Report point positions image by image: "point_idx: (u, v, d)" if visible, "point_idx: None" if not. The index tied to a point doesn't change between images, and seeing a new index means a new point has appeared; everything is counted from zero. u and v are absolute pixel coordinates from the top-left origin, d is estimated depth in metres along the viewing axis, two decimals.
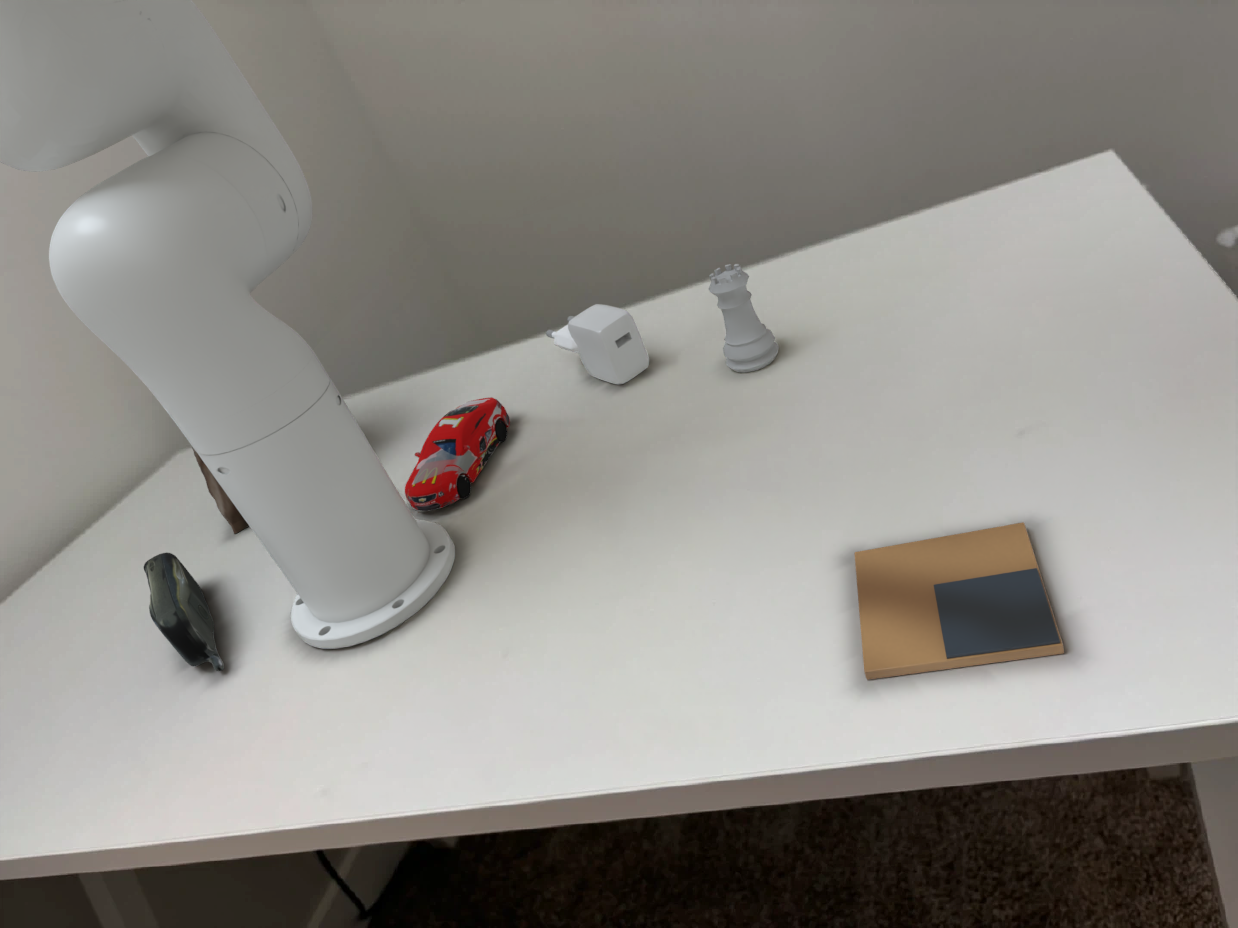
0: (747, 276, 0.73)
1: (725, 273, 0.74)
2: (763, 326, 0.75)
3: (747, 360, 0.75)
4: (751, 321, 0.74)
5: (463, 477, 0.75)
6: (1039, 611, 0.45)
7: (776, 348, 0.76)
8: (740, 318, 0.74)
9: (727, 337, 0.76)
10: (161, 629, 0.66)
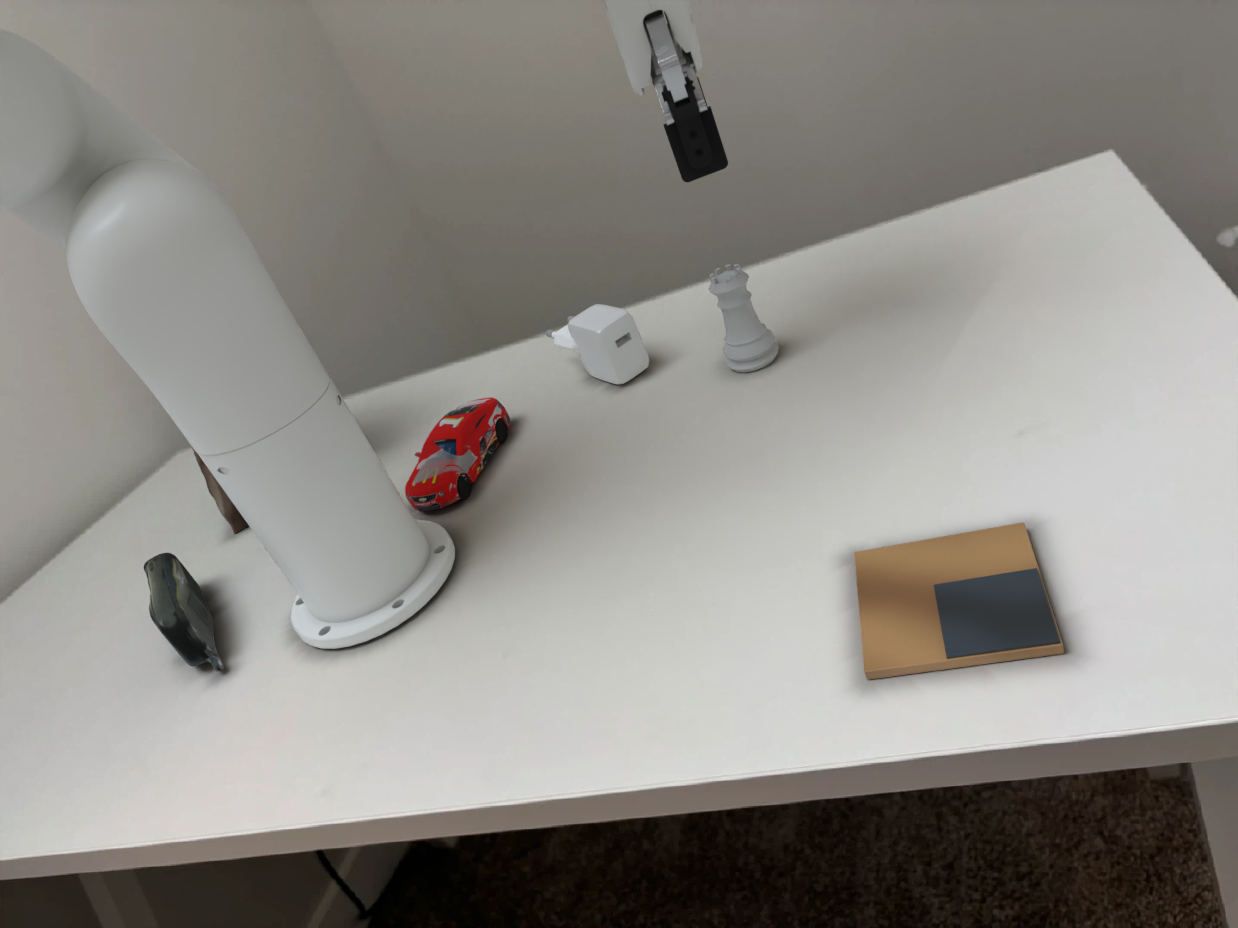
0: (747, 276, 0.73)
1: (725, 273, 0.74)
2: (763, 326, 0.75)
3: (747, 360, 0.75)
4: (751, 321, 0.74)
5: (464, 477, 0.75)
6: (1039, 611, 0.45)
7: (776, 348, 0.76)
8: (740, 318, 0.74)
9: (727, 337, 0.76)
10: (161, 629, 0.66)
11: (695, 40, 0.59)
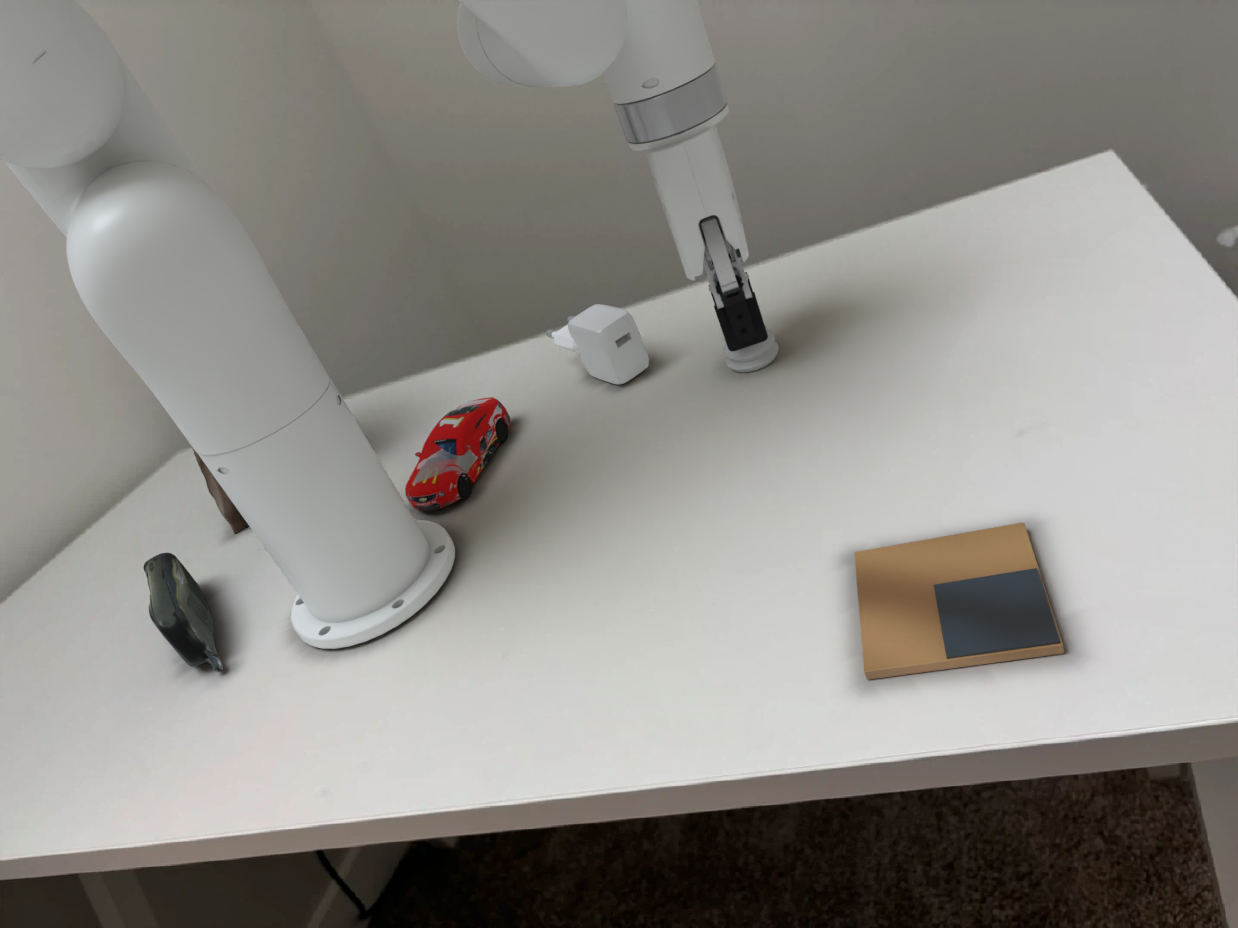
0: (747, 276, 0.73)
1: None
2: None
3: (748, 359, 0.75)
4: None
5: (464, 477, 0.75)
6: (1039, 611, 0.45)
7: (776, 348, 0.76)
8: None
9: None
10: (160, 629, 0.66)
11: (743, 238, 0.67)
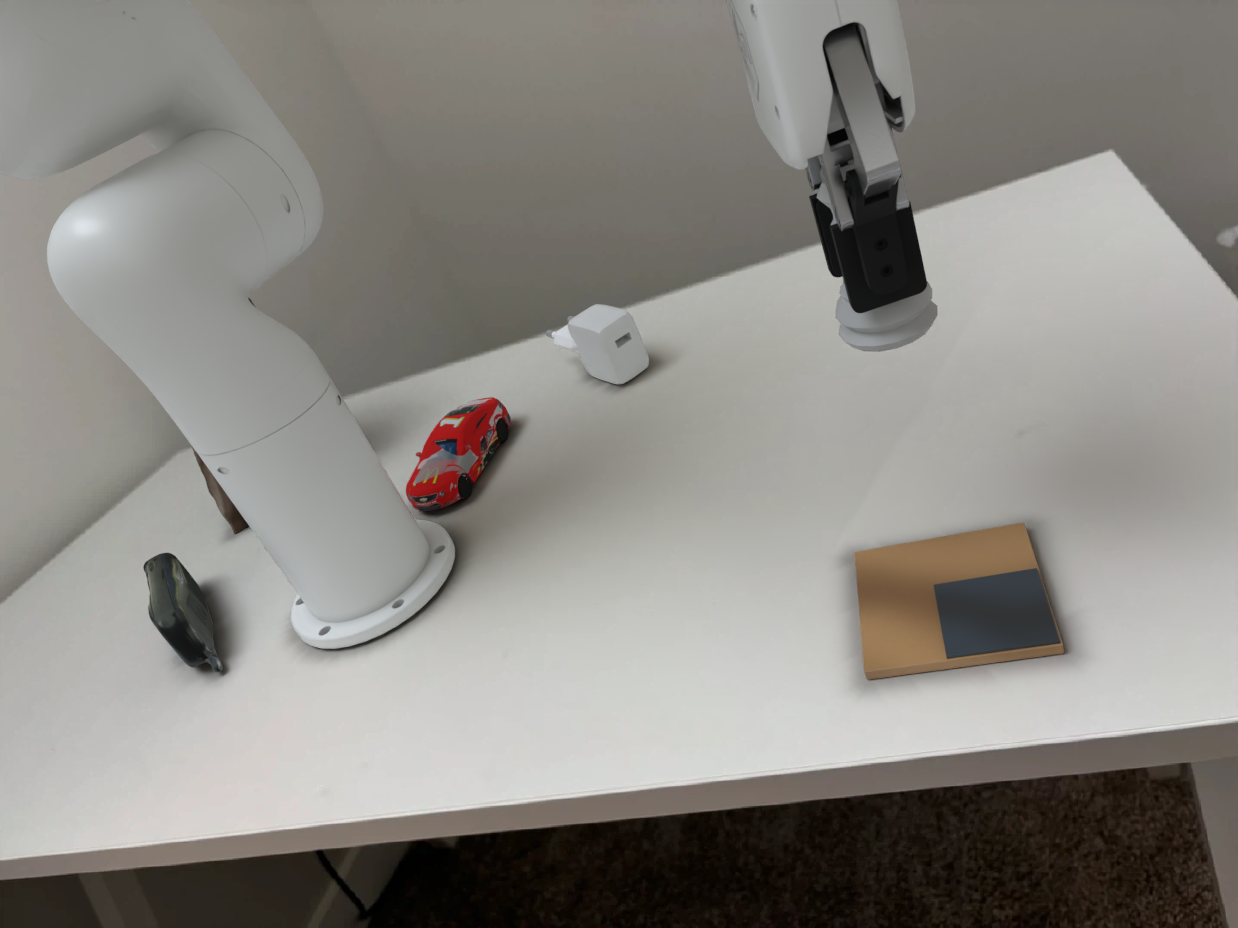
0: None
1: (849, 167, 0.40)
2: None
3: (886, 328, 0.41)
4: None
5: (464, 477, 0.75)
6: (1039, 611, 0.45)
7: (934, 308, 0.42)
8: None
9: None
10: (160, 630, 0.66)
11: (909, 77, 0.33)
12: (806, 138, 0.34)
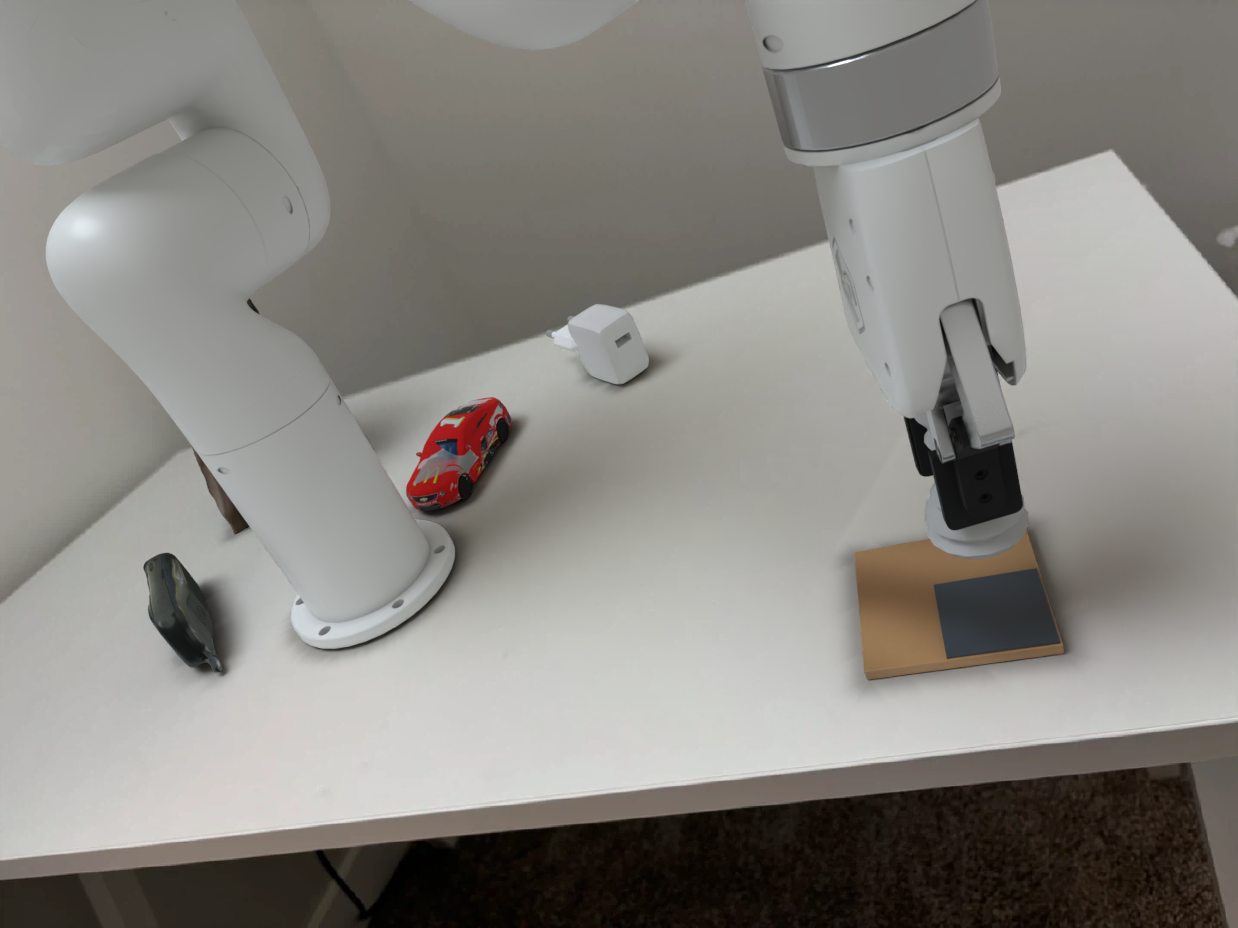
0: None
1: None
2: None
3: (978, 540, 0.41)
4: None
5: (465, 477, 0.75)
6: (1039, 611, 0.45)
7: (1025, 516, 0.42)
8: None
9: None
10: (159, 630, 0.66)
11: (1023, 341, 0.33)
12: (917, 397, 0.34)
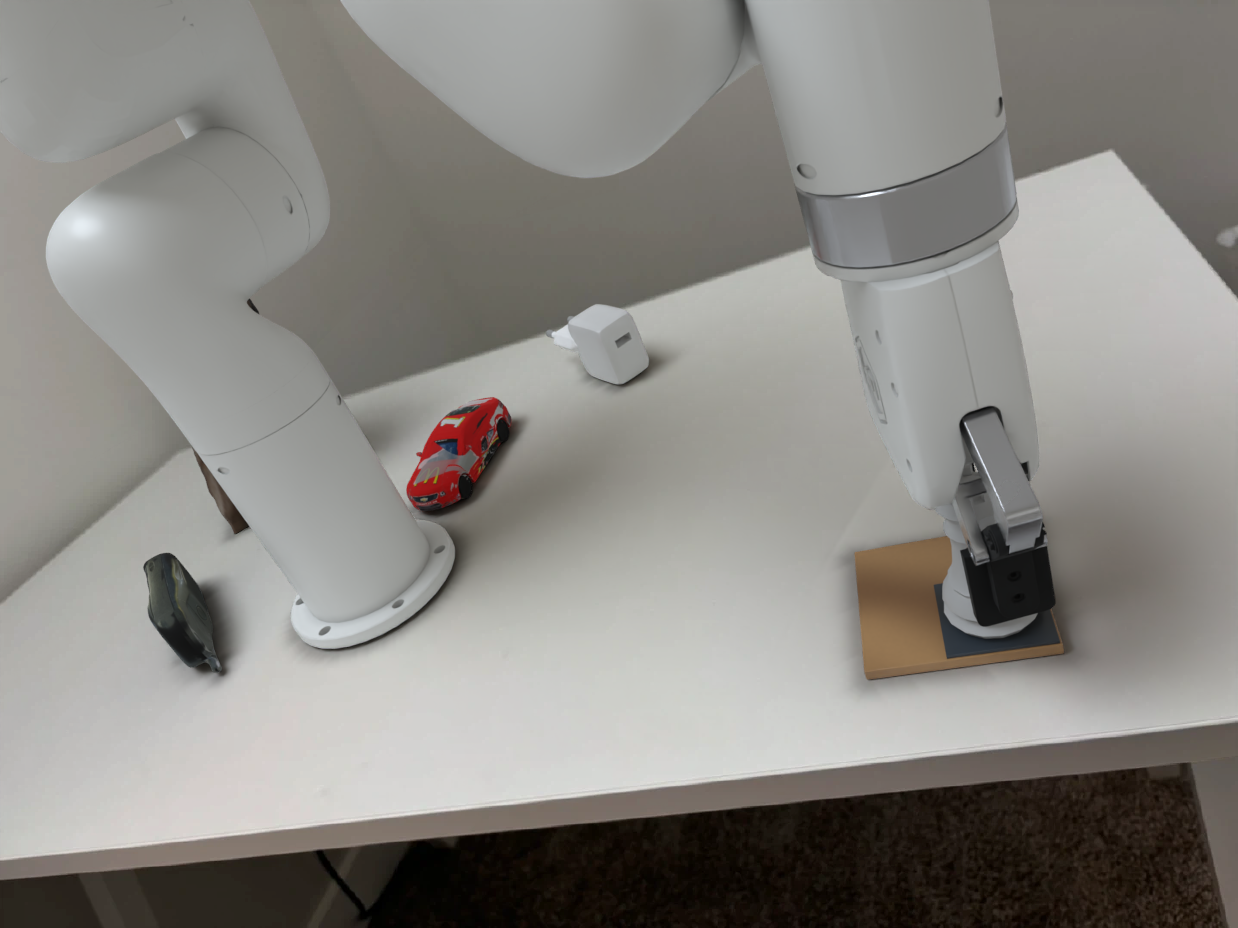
0: None
1: (964, 482, 0.43)
2: None
3: None
4: None
5: (465, 477, 0.75)
6: None
7: None
8: None
9: (956, 580, 0.45)
10: (159, 630, 0.66)
11: (1037, 443, 0.36)
12: (937, 493, 0.36)
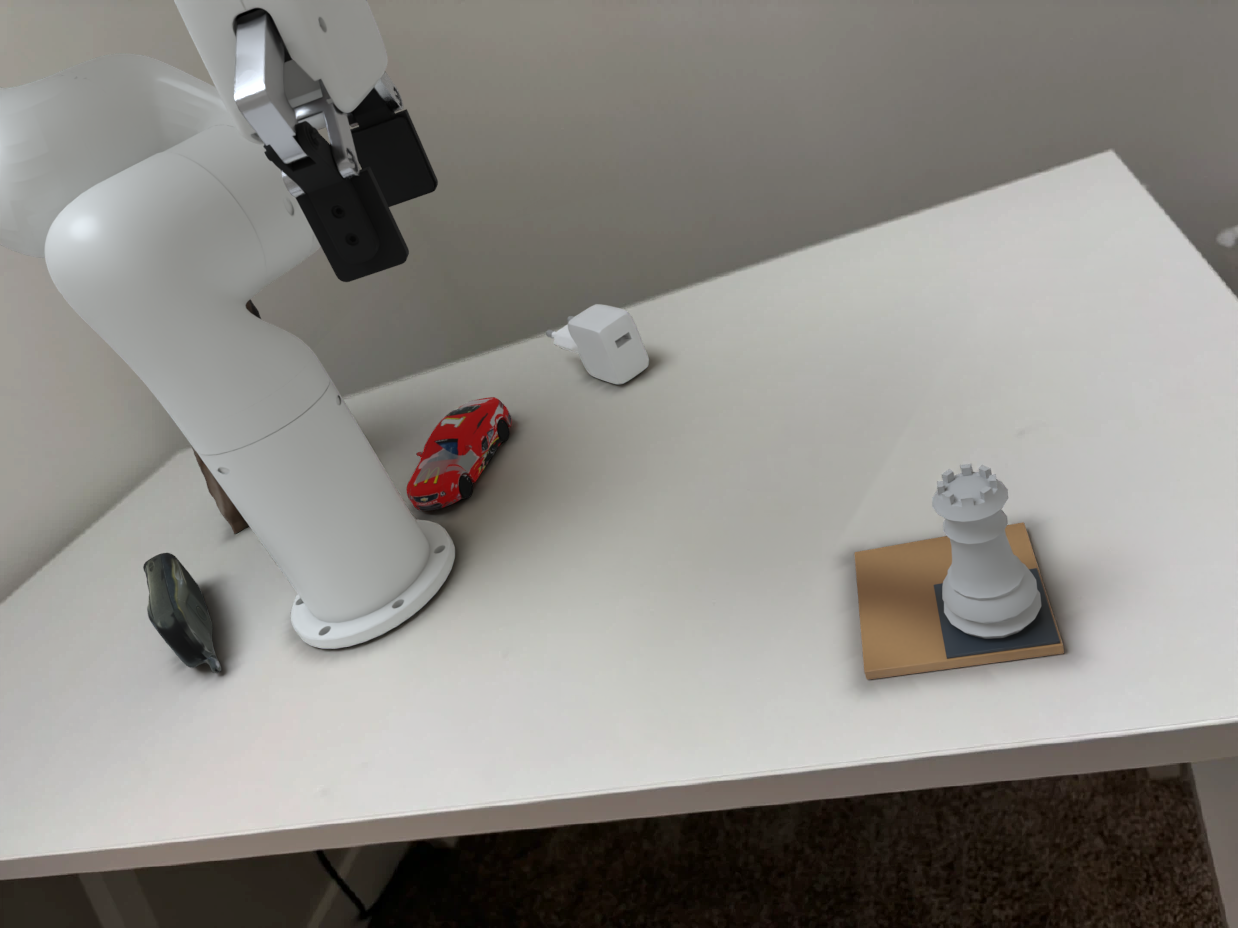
0: (1005, 490, 0.42)
1: (964, 482, 0.43)
2: (1018, 563, 0.44)
3: (994, 622, 0.44)
4: (1005, 560, 0.43)
5: (465, 477, 0.75)
6: (1039, 611, 0.45)
7: (1037, 597, 0.45)
8: (988, 557, 0.43)
9: (956, 580, 0.45)
10: (158, 630, 0.66)
11: (330, 61, 0.36)
12: (241, 115, 0.36)
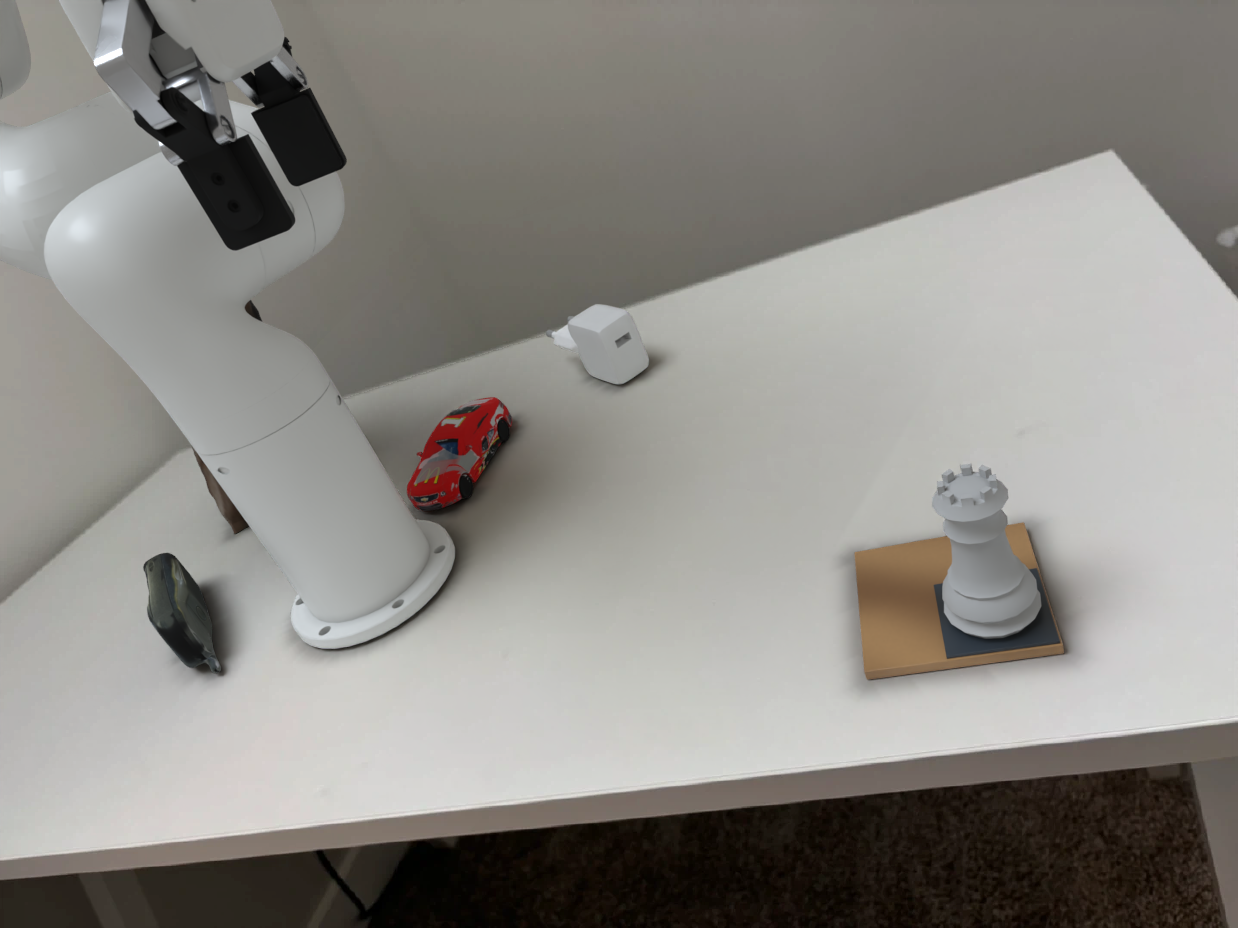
0: (1005, 490, 0.42)
1: (964, 482, 0.43)
2: (1018, 563, 0.44)
3: (994, 622, 0.44)
4: (1005, 560, 0.43)
5: (466, 477, 0.75)
6: (1039, 611, 0.45)
7: (1037, 597, 0.45)
8: (988, 557, 0.43)
9: (956, 580, 0.45)
10: (158, 630, 0.66)
11: (199, 29, 0.37)
12: None
